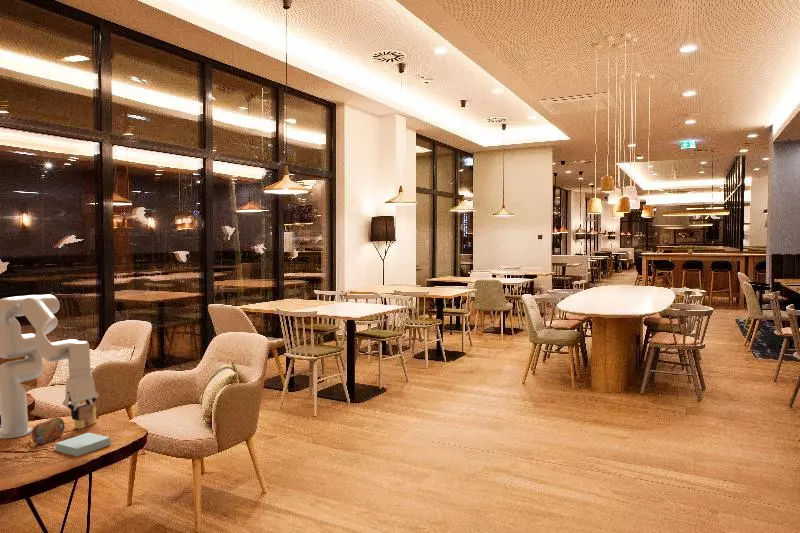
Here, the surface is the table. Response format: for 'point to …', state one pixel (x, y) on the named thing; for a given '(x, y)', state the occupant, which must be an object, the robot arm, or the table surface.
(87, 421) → the candy box
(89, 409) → the walnut block
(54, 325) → the robot arm
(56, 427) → the tin
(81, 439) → the plinth
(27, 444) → the table surface
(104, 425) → the table surface
